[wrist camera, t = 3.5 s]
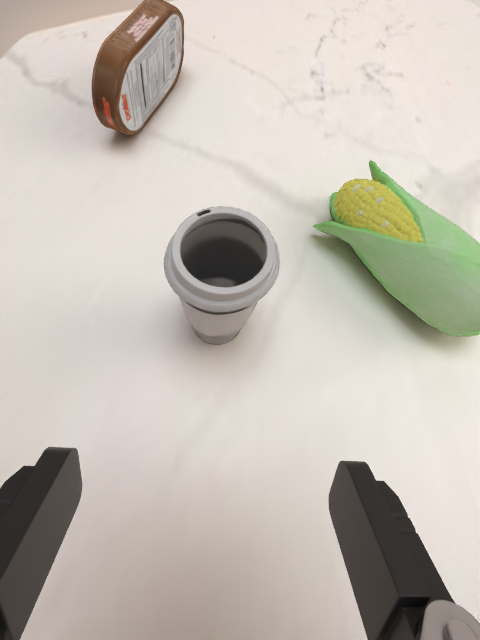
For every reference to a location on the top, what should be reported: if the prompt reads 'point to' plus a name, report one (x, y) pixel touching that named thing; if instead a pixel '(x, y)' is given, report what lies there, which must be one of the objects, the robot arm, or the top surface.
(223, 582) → the top surface
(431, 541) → the top surface
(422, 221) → the corn
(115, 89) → the tin
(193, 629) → the top surface
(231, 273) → the cup
